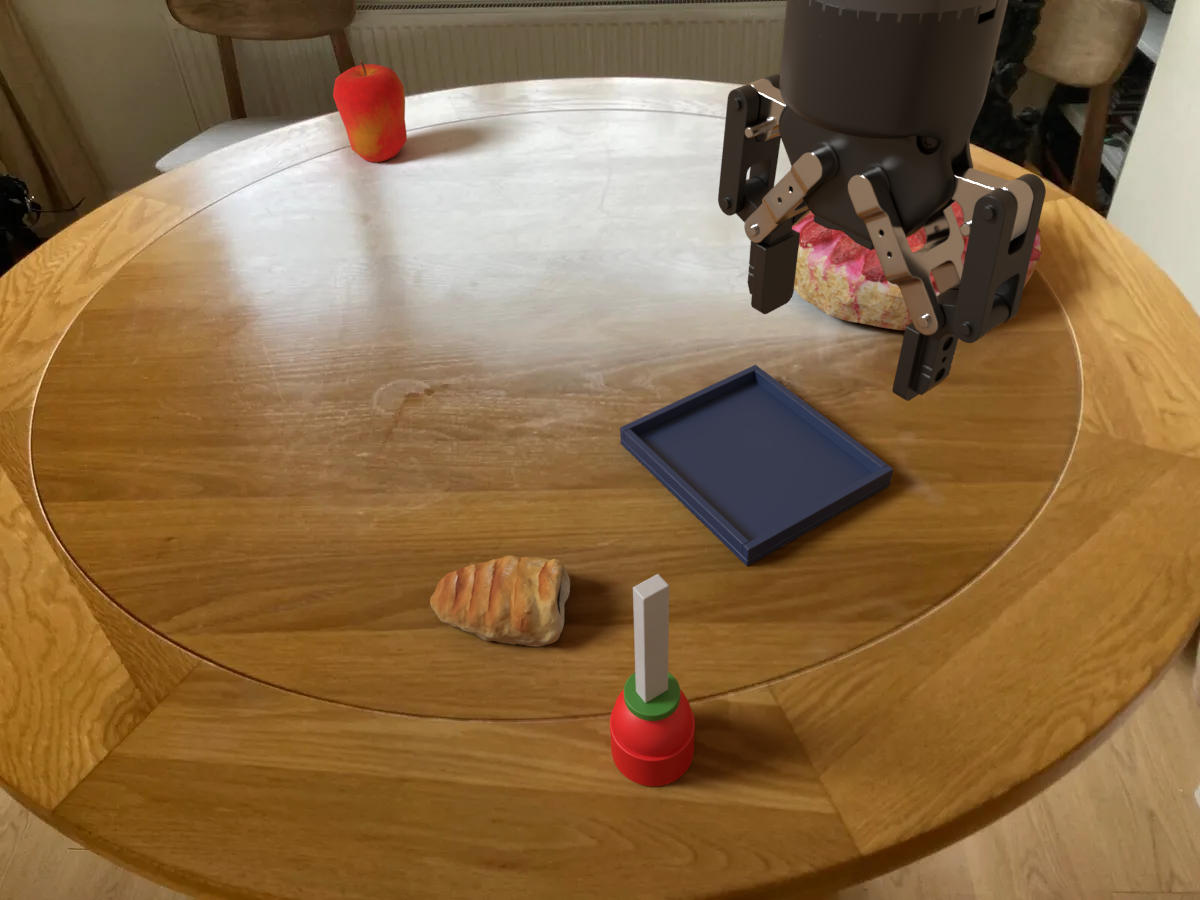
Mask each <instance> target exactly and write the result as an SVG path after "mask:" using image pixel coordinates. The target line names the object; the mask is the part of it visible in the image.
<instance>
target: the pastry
mask: <svg viewBox="0 0 1200 900" xmlns="http://www.w3.org/2000/svg"><path fill="white" fill-rule="evenodd" d="M570 588H571V579H570V576H569V573H568V571H567V569H566V567H565V564H564V563H563V562H562V561H560V560H559V559H557V558H553V559H547V558H544V557H538V556H523V557H522V556H521V557H519V556H514V555H504V556H503V557H499V558H493V559H491V560H489V561H484V562H483V561H482V562H478V563H475V564H474V563H473V564H470V565H467V566H463V567H460V568H458V569H456V570H453V571H449V572H447V573H446V574H445V575H444V576H443V577H442V578H441V579H440V580H439V581H438V584H437V585H436V586H435V589H434V592H433V593H432V595H431V596H430V599H429V605H430V607H431V609H432V610H433V612H434V613H435V615H436V616H437V617H438V619H439V620H440V622H441V623H443V624H445V625H449V626H451V627H452V628H457V629H459V630H460V631H462V632H464V633H465V632H466V633H469V634H472V635H474V636H476V637H478V638H479V639H481V640H483V641H484V642H496V643H500V644H510V645H513V646H514V645H523V646H526V647H534V648H535V647H543V646H547V645H551V644H554V643H556V642H557V641H558V640H559V638H560V636H561V634H562V632H563V630H564V626H565V614H566V613H565V604H566V601H567V600H568V598H569V597H570V592H571V589H570Z"/></svg>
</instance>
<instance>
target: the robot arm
mask: <svg viewBox="0 0 1200 900" xmlns="http://www.w3.org/2000/svg"><path fill="white" fill-rule="evenodd" d="M1008 3H1009V0H786V4H785V15H784V23H783V24H784V26H783V36H782V37H783V38H782V48H781V58H780V70H779V73H772V74H770V75H767V76H765V77H762V78H759V79H758V80H755V81H752V82H749V83H746V84H744V85H742V86H739V87H736V88H734V89H732V90H730V92H729V93H728V95H727V99H726V100H727V101H726V114H725V121H724V132H723V144H722V153H721V162H720V163H721V164H720V174H719V183H718V194H717V202H718V207H719V209H720V211H722V213H723V214H724V215H726V216H728V217H730V216H733V215H736V216H738V218H739V219H740V220H741V221H742V222H743V223H744V226H743V227H744V232H745V235H746V237H747V238H748V240H749V241H750V245H749V260H748V265H749V266H748V274H747V286H748V291H749V294H750V295H751V299H750V306H751V308H752V309H754V310H756V311H757V312H759V313H761V314H762V315H767V314H770V313H771V312H773V311H775V310H777V309H779V308H781V307H783V306H784V305H787V303H789V302H790V301H791V299H792V298H793V296H794V291H795V289H794V283H795V274H796V266H797V257H798V248H799V240H800V233H799V232H797V231H795V230H793V229H792V226H794V225H796V224H798V223H799V222H800V221H801V220H802V219H803V218H804V217H805V216H806V215H807V214H809V213H810V212H812V213H813V214H814V222H815V223H817V224H819V225H821V226H823V227H825V228H827V229H833V230H839V231H842V232H844V233H845V234H846V235H848V236H849V237H850V238H851V239H852V240H853V241H855V242H856V243H857V244H859V245H861V246H863V247H865V248H867V249H869V250H873V249H875V251H876V253H877V256H878V259H879V261H880V264H881V267H882V269H883V272H884V274H885V277H886V279H887V280H888V281H889V282H890V283H892V284H896V285H897V286H898V287H899V288H900V290H901V293H902V296H903V298H904V301H905V304H906V306H907V309H908V312H909V314H910V317H911V320H912V323H911V324H909V325H907V326H906V328H905V330H904V333H903V338H902V342H901V346H900V351H899V356H898V360H897V366H896V371H895V376H894V380H893V385H892V388H891V389H892V393H893V394H895V395H896V396H898V397H900V398H901V399H902V400H905V401H907V402H909V401H911V400H912V399H914V398H916V397H918V396H919V395H920V396H923V395H924V394H926V393H928V392H929V391H931V390H932V389H934V388H935V387H937V386H938V385H940V384H941V383H943V382H944V381H945V380H946V378H948V377H949V375H950V371H951V368H952V363H953V361H954V356H955V353H956V350H957V346H958V342H959V340H960V341H962V342H964V343H967V344H973V343H975V342H977V341H979V340H980V339H982V338H983V337H984V336H985V335H986V334H987V333H989V332H990V331H992V330H994V329H995V328H997V327H998V326H1000V325H1001V324H1004V323H1007V322H1008V321H1010V320H1012V319H1014V317H1016V316H1017V314H1018V312H1019V309H1020V304H1021V300H1022V297H1023V296H1022V295H1023V291H1024V289H1025V287H1024V283H1025V279H1026V275H1027V271H1028V267H1029V262H1030V258H1031V254H1032V250H1033V245H1034V241H1035V237H1036V233H1037V228H1038V227H1039V223H1040V220H1041V217H1042V216H1041V215H1042V212H1043V208H1044V202H1045V198H1046V192H1047V191H1046V190H1047V189H1046V185H1045V183H1044V181H1043V180H1042V179H1041V177H1040V176H1038V175H1036V174H1033V173H1025V174H1022V175H1020V176H1019V177H1016V178H1014V179H1011V180H1008V179H1007V178H1003V177H1000V176H996V175H993V174H990V173H987V172H984V171H981V170H978V169H975V168H974V162H973V158H972V154H971V146H970V144H971V135H972V131H973V129H974V126H975V124H976V121H977V119H978V116H979V114H980V112H981V110H982V107H983V105H984V103H985V99H986V96H987V91H988V87H989V83H990V79H991V74H992V71H993V66H994V61H995V57H996V54H997V48H998V45H999V40H1000V36H1001V33H1002V28H1003V24H1004V20H1005V16H1006V11H1007V7H1008ZM781 142H782V145H783V148H784V150H785V153H786V155H787V158H788V161H789V163H790V166H791V167H790V169H789V171H788V172H787V173H786V174H785V175H784V176H783V177H782V178H781V179H780V180H779V181H778V182H777V183H776V184H775V182H776V175H777V169H778V162H779V156H780V155H779V154H780V147H781ZM748 171H749V175H748ZM747 177H748V178H747ZM955 201H956V202H957V203H958V204H959V205H960V207H961V209H962V211H963V216H964V217H963V224H962V225H961V226H960V229H959V226H958V223H957V220H956V218H955V215H954V212H953V209H952V206H951V204H953V203H954V202H955ZM922 227H924V230H925V233H926V244H925V246H924V247H923V248H921V249H919V250H918V251H916V252H914V253H913V252H912V250H911V249H910V247H909V244H908V241H907V239H906V238H907V237H909V236H911V235H913V234H915V233H916V232H917V231H918V230H920V229H921V228H922ZM962 235H963V236H965V237H968V236H969V239H968V244H967V249H966V255H965V260H964V265H963V263H962V260H961V255H962V253H963V251H964V240H963V237H962ZM930 272H932V275H933V277H934V280H935V283H936V286H937V288H938V291H939V295H938V296H937V295H936V293H935V290H934V287H933V284H932V282H931V279H930ZM1023 288H1024V289H1023Z"/></svg>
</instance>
